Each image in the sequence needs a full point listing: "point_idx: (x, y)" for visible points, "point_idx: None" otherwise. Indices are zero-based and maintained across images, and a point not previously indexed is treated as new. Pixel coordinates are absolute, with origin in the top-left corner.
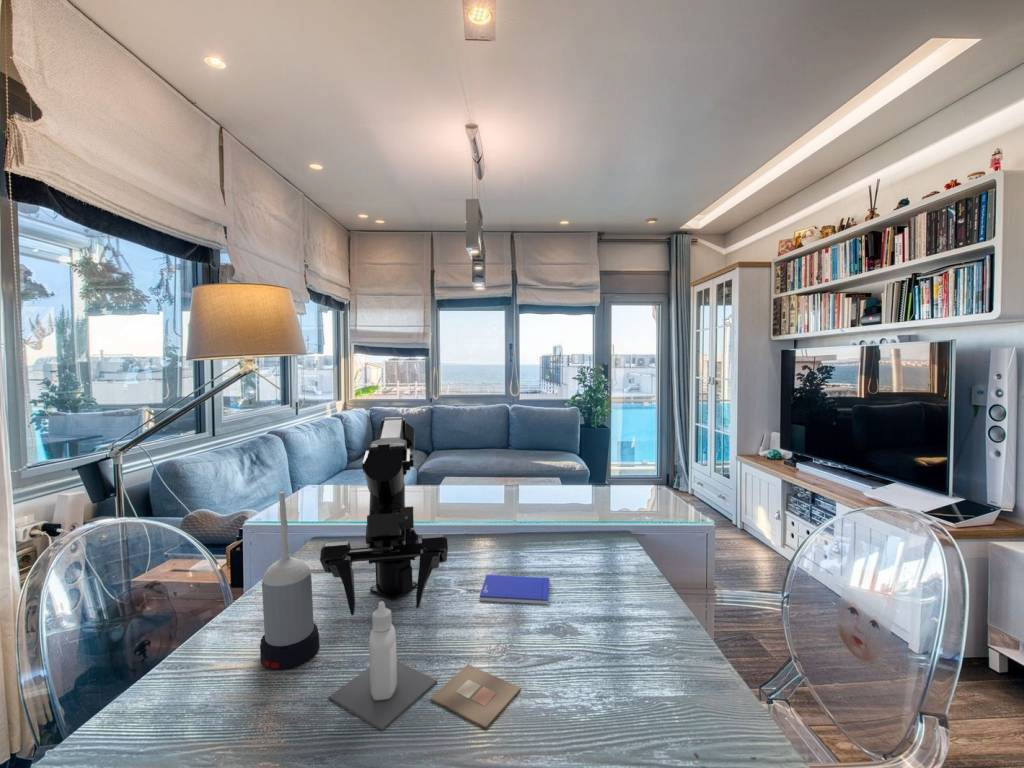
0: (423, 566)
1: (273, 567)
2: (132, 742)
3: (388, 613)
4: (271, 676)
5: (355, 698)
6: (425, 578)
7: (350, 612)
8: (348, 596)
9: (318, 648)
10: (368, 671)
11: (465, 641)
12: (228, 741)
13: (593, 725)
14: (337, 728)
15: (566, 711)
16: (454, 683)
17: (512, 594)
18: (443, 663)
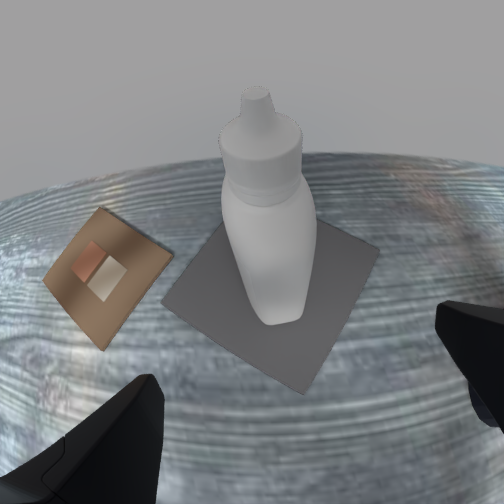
0: (19, 494)
1: None
2: None
3: (226, 128)
4: (500, 300)
5: (324, 247)
6: (51, 446)
7: (449, 300)
8: (501, 311)
9: (471, 393)
10: (329, 330)
11: None
12: (453, 178)
13: (12, 228)
14: (326, 193)
15: (20, 245)
16: (127, 293)
17: None
18: (151, 367)
